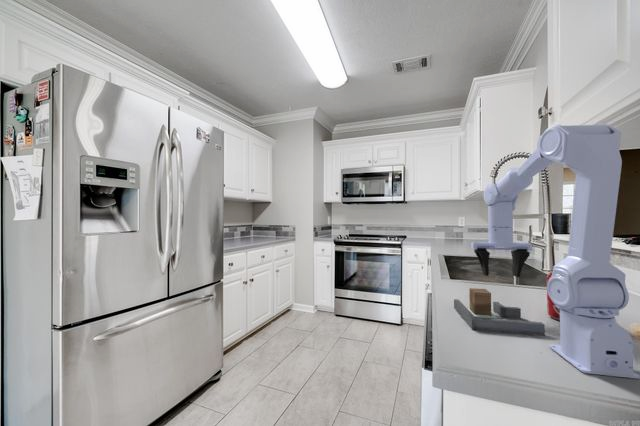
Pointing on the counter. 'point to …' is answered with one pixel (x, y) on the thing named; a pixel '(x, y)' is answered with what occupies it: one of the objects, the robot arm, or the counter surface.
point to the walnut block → (480, 301)
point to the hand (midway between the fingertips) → (500, 275)
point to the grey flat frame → (500, 320)
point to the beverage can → (552, 304)
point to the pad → (483, 315)
